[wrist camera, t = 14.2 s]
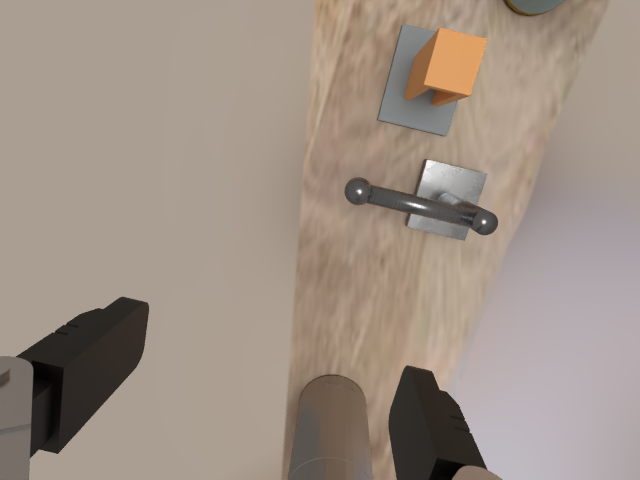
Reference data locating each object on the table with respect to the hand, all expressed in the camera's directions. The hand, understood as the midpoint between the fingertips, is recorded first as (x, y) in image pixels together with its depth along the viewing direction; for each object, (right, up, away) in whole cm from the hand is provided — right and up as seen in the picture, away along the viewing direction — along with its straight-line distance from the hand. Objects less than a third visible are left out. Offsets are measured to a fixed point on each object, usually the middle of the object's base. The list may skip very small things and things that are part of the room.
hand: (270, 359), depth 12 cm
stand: (+12, +10, +34) cm, 37 cm away
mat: (+13, +21, +31) cm, 40 cm away
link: (+13, +21, +31) cm, 39 cm away
